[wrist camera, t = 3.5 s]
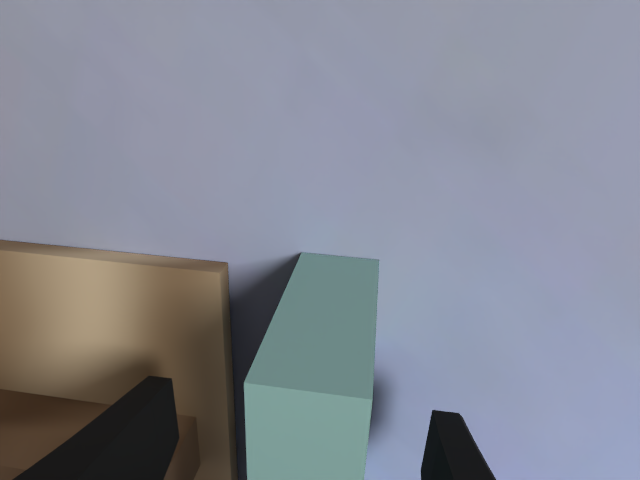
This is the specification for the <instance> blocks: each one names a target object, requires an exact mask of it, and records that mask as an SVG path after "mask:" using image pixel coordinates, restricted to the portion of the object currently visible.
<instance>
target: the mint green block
mask: <svg viewBox="0 0 640 480" xmlns="http://www.w3.org/2000/svg"><path fill="white" fill-rule="evenodd" d="M378 273H379V260H374V259H363V258H353V257H342V256H332V255H322V254H311V253H301V255H300V257H299V260H298V262H297V264H296V266H295V269H294V271H293V273H292V275H291V278H290V280H289V282H288V284H287V287H286V289H285V291H284V293H283V296H282V298H281V300H280V302H279V305H278V307H277V309H276V311H275V314H274V316H273V318H272V320H271V323H270V325H269V327H268V329H267V332H266V334H265V336H264V338H263V341H262V343H261V345H260V347H259V350H258V352H257V354H256V356H255V359H254V361H253V363H252V366H251V368H250V370H249V372H248V375H247V377H246V379H245V381H244V402H245V431H246V459H247V480H364V474H365V465H366V455H367V446H368V437H369V428H370V419H371V410H372V401H373V380H374V359H375V338H376V316H377V295H378Z"/></svg>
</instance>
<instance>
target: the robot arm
mask: <svg viewBox="0 0 640 480" xmlns="http://www.w3.org/2000/svg"><path fill="white" fill-rule="evenodd" d="M179 438H180V437H179V429H178V422H177V414H176V406H175V398H174V390H173V382H172V378H165V377H157V376H148V377H146V378H145V379H144V380H143V381H141V382H140V383H139V384H137V385H136V386H135V387H134V388H132V389H131V390H130V391H129V392H127V393H126V394H125V395H124V396H122V397H121V398H120V399H119V400H118V401H116V402H115V403H114V404H113V405H111V406H110V407H109V408H108V409H106V410H105V411H104V412H103V413H101V414H100V415H99V416H98V417H96V418H95V419H94V420H93V421H91V422H90V423H89V424H87V425H86V426H85V427H84V428H82V429H81V430H80V431H78V432H77V433H76V434H75V435H73V436H72V437H71V438H69V439H68V440H67V441H65V442H64V443H63V444H61V445H60V446H59V447H57V448H56V449H54V450H53V451H52V452H50V453H49V454H48V455H46V456H45V457H43V458H42V459H41V460H39V461H38V462H37V463H35V464H34V465H32V466H31V467H30V468H28V469H27V470H25V471H24V472H23V473H21V474H20V475H18V476H17V477H15V478H14V479H12V480H164V477H165V475H166V472H167V470H168V467H169V465H170V462H171V460H172V457H173V454H174V451H175V449H176V446H177V443H178V441H179ZM421 480H496V479H495V477H494V475H493V473H492V472H491V470H490V468H489V467H488V465H487V463H486V461H485V459H484V458H483V456H482V454H481V452H480V450H479V449H478V447H477V445H476V443H475V441H474V439H473V437H472V435H471V433H470V431H469V429H468V427H467V426H466V423H465V421H464V419H463V417H462V416H461V415H460V414H459V413H453V412H444V411H436V410H432V415H431V420H430V425H429V431H428V436H427V441H426V446H425V451H424V457H423V462H422V467H421Z"/></svg>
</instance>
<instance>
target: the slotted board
mask: <svg viewBox="0 0 640 480" xmlns="http://www.w3.org/2000/svg"><path fill="white" fill-rule="evenodd" d="M148 376H157V377H165V378H172V382H173V390H174V398H175V406H176V414H177V422H178V429H179V437H180V438H179V441H178V443H177V446H176V449H175V451H174V454H173V457H172V460H171V462H170V465H169V467H168V470H167V472H166V475H165V477H164V480H238V473H237V452H236V430H235V409H234V387H233V366H232V344H231V323H230V301H229V280H228V263H225V262H215V261H205V260H195V259H185V258H175V257H165V256H155V255H145V254H135V253H125V252H115V251H105V250H95V249H85V248H75V247H65V246H55V245H45V244H35V243H25V242H15V241H5V240H0V480H12V479H14V478H15V477H17V476H18V475H20V474H21V473H23V472H24V471H25V470H27V469H28V468H30V467H31V466H32V465H34V464H35V463H37V462H38V461H39V460H41V459H42V458H43V457H45V456H46V455H48V454H49V453H50V452H52V451H53V450H54V449H56V448H57V447H59V446H60V445H61V444H63V443H64V442H65V441H67V440H68V439H69V438H71V437H72V436H73V435H75V434H76V433H77V432H78V431H80V430H81V429H82V428H84V427H85V426H86V425H87V424H89V423H90V422H91V421H93V420H94V419H95V418H96V417H98V416H99V415H100V414H101V413H103V412H104V411H105V410H106V409H108V408H109V407H110V406H111V405H113V404H114V403H115V402H116V401H118V400H119V399H120V398H121V397H122V396H124V395H125V394H126V393H127V392H129V391H130V390H131V389H132V388H134V387H135V386H136V385H137V384H139V383H140V382H141V381H143V380H144V379H145V378H146V377H148Z"/></svg>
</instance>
